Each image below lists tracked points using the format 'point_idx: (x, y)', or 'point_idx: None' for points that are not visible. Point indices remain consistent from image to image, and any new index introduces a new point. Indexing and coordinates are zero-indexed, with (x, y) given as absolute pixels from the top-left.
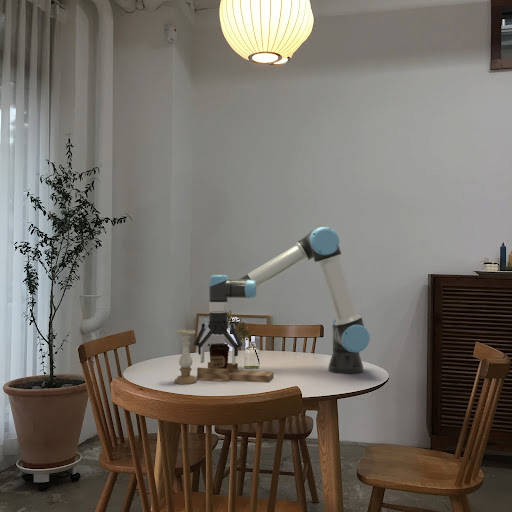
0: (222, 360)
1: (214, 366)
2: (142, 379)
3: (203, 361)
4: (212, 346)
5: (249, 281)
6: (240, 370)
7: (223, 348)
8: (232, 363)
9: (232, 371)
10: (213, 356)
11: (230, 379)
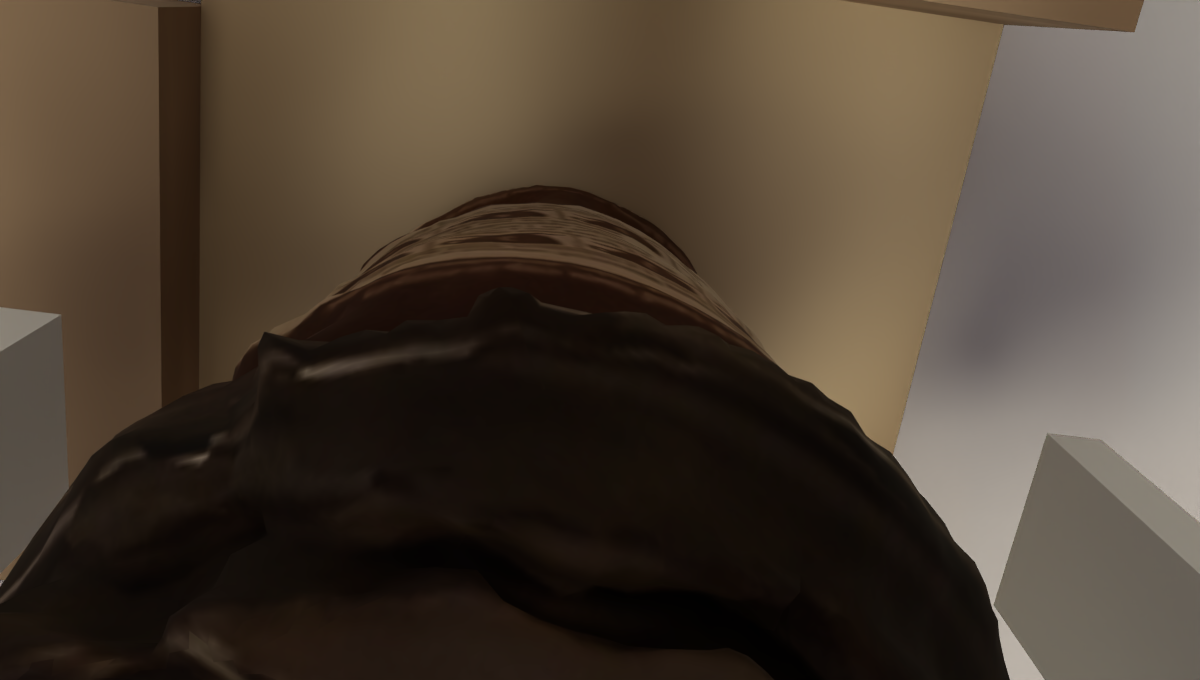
0: (336, 287)
1: (631, 230)
2: None
3: (1027, 557)
4: (877, 634)
5: None
6: None
7: (83, 520)
8: (32, 322)
9: None
10: (698, 306)
11: (195, 4)
